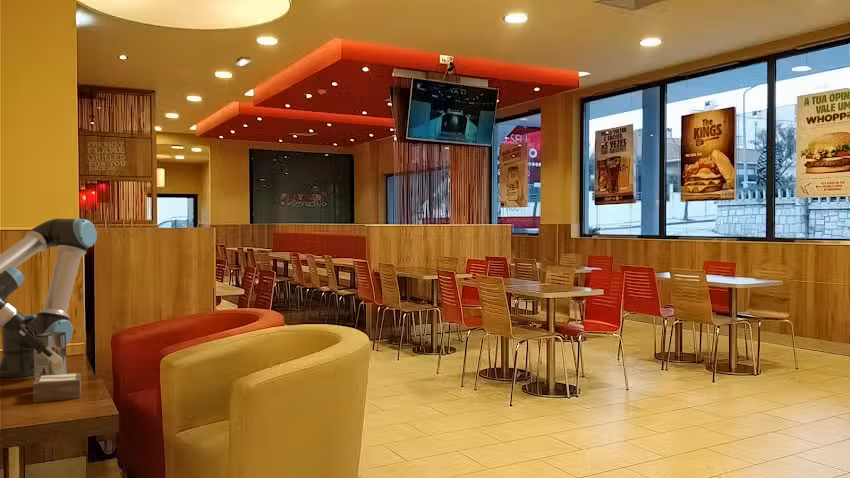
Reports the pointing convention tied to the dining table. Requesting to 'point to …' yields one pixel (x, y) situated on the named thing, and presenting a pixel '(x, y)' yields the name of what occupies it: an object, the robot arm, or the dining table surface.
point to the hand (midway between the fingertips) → (59, 358)
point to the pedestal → (57, 387)
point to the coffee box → (58, 346)
